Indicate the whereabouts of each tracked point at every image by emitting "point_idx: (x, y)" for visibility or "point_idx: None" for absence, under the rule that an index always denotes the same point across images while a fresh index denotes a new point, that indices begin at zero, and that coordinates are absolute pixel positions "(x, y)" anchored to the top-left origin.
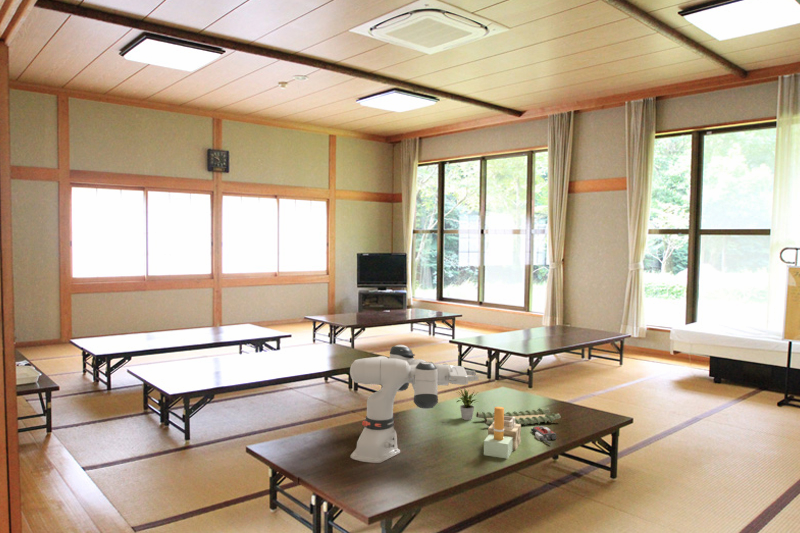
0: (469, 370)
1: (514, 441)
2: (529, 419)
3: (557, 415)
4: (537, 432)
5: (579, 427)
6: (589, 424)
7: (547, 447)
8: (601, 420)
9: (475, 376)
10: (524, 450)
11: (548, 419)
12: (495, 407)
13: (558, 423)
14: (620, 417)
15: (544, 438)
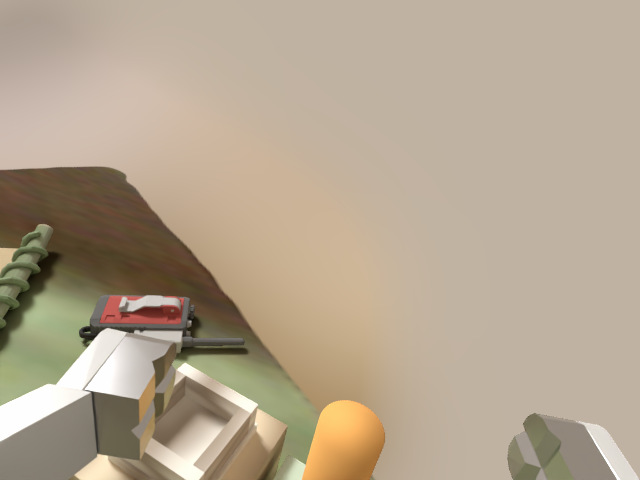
0: (16, 420)
1: (278, 458)
2: (5, 300)
3: (47, 232)
4: (143, 332)
5: (119, 235)
6: (109, 215)
7: (256, 359)
8: (96, 192)
9: (630, 471)
10: None
11: (37, 258)
12: (338, 449)
13: (55, 252)
14: (99, 169)
15: (185, 335)
